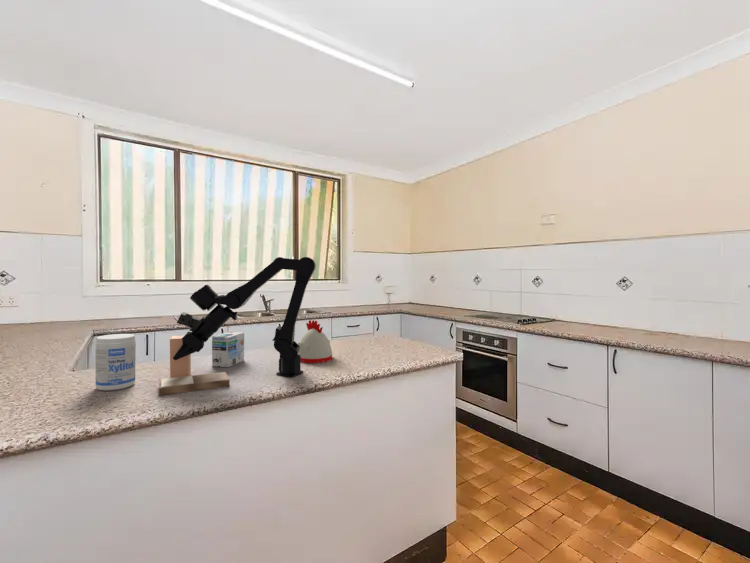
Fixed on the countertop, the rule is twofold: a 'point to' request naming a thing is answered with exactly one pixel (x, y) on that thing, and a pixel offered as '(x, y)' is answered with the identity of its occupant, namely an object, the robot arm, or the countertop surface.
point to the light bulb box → (227, 349)
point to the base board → (193, 383)
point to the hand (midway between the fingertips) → (175, 357)
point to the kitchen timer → (314, 345)
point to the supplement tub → (115, 361)
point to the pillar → (181, 365)
